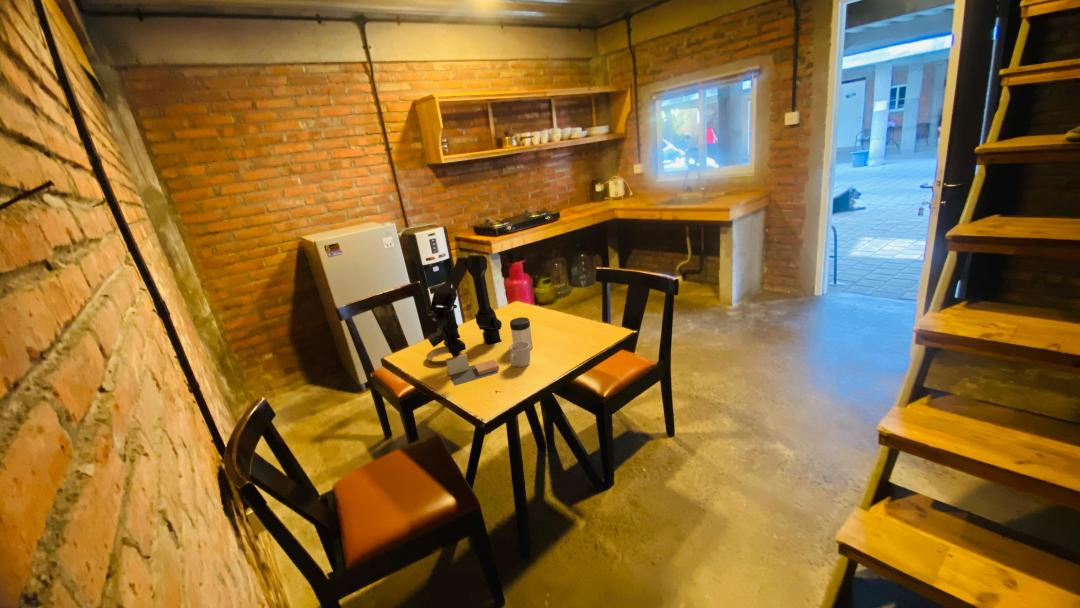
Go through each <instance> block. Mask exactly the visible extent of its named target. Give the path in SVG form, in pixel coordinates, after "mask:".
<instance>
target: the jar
mask: <svg viewBox="0 0 1080 608" xmlns="http://www.w3.org/2000/svg"><path fill="white" fill-rule="evenodd" d="M530 323H531V321H530V319H529V318H528V317H524V316H523V317H515V318H513V319H511V320H510V321H509V326H510V332H511V338H512V344H513V343H515V342H521V341H523V342H528V343H529V344H530V350H531V349H533V348H534V345H533V338H532V331H531V330H532V329H531V324H530Z"/></svg>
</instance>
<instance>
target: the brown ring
mask: <svg viewBox="0 0 1080 608" xmlns="http://www.w3.org/2000/svg"><path fill="white" fill-rule="evenodd" d="M462 352H463V350H462V351H460V352H459V355H462V354H463V353H462ZM446 354H450V353H449V352H448V350H447V349H446V347H445V345H443V346H440V347H436V348H434V349H432V350H431V351H429V352H428V353H427V354H426V355H425V356H426V359H427V360H428V361H429V362H431V363H433V364H437V365H444V364H446V359H445V360H433V358H435V357H439V356H441V355H442V356H443V355H446Z"/></svg>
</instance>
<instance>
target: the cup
mask: <svg viewBox="0 0 1080 608" xmlns="http://www.w3.org/2000/svg"><path fill="white" fill-rule="evenodd" d="M508 349H509V353H510V355H509V363H510V364H511V366H515V367H517V368H524V367H527V366H529V364H530V363H531V349H530V344H529V343H528V342H523V341H521V342H515V343H513V342H512V343H510V345H509V346H508Z"/></svg>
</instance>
